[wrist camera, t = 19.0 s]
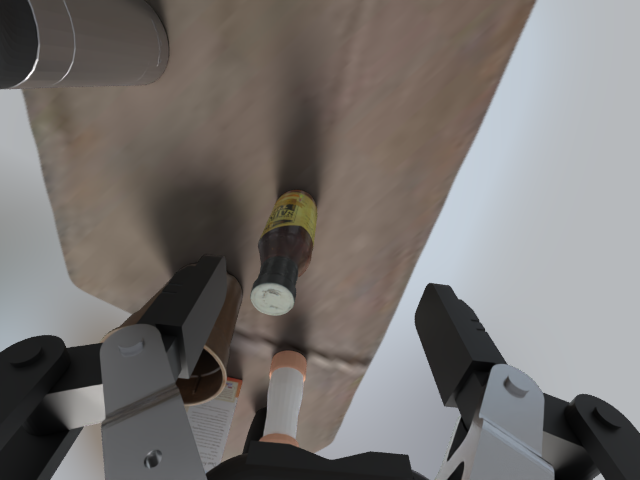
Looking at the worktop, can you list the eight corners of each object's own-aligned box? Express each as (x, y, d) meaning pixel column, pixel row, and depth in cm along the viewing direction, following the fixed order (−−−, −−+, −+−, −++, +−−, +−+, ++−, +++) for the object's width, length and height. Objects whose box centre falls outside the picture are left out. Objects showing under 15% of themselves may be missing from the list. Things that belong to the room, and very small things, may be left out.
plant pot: (183, 327, 55) (134, 411, 41) (144, 258, 47) (68, 333, 33) (264, 318, 53) (242, 402, 39) (237, 245, 46) (198, 318, 32)
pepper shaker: (287, 345, 57) (271, 454, 40) (313, 362, 59) (309, 472, 43) (265, 361, 60) (241, 471, 43) (290, 377, 62) (277, 486, 45)
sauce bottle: (296, 178, 40) (274, 254, 23) (326, 208, 42) (326, 298, 25) (265, 207, 42) (224, 296, 25) (295, 234, 44) (276, 333, 27)
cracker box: (176, 380, 63) (116, 501, 45) (179, 363, 61) (116, 486, 42) (237, 394, 66) (204, 515, 47) (243, 379, 63) (210, 501, 45)
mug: (285, 426, 72) (280, 475, 63) (250, 422, 71) (240, 470, 62) (291, 399, 66) (286, 448, 57) (253, 394, 65) (242, 443, 57)
